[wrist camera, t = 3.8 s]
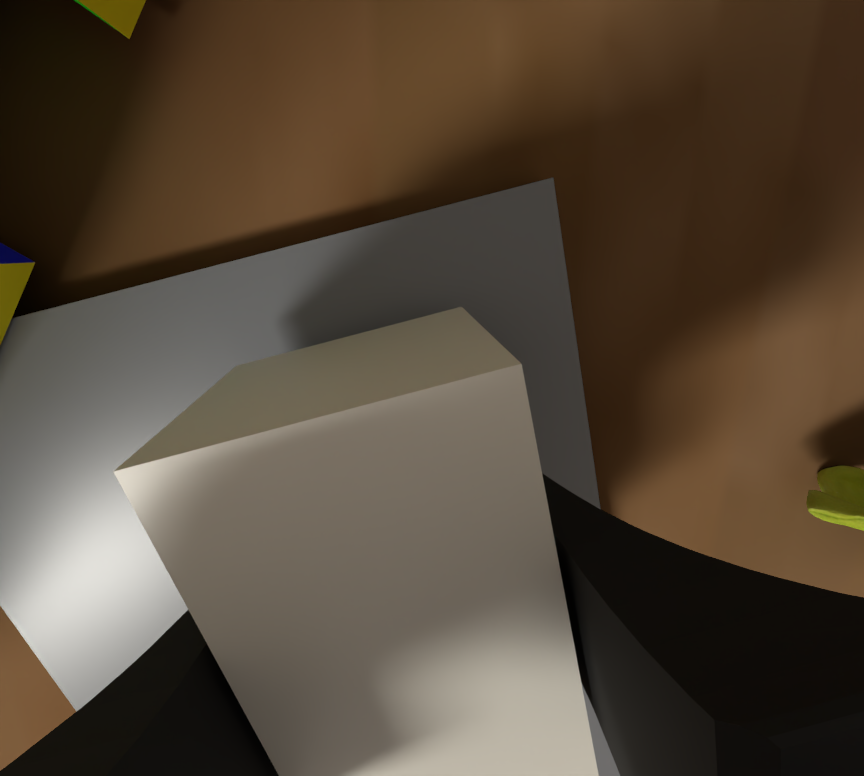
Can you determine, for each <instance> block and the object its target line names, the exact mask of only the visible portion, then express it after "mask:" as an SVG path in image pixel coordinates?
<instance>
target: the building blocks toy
mask: <svg viewBox="0 0 864 776" xmlns="http://www.w3.org/2000/svg"><path fill="white" fill-rule="evenodd" d="M74 1H75V2H77V3H78V4H80V5H81V6H82V7H84V8H85V9H87V10H88V11H90V12H91V13H93V14H94V15H95V16H97V17H98V18H100V19H101V20H103V21H104V22H105V23H107V24H108V25H110V26H111V27H113V28H114V29H116V30H117V31H118V32H120V33H121V34H123V35H124V36H126V37H127V38H128V39H130V37H131V34H132V32H133V30H134V27H135V25H136V23H137V20H138V18H139V15H140V13H141V11H142V8H143V6H144V4H145V1H146V0H74ZM34 264H35V262H34V261H32V260H30V259H29V258H27V257H25V256H23V255H22V254H20V253H18V252H16V251H14V250H13V249H11V248H9V247H7V246H6V245H4V244H2V243H0V345H1V342H2V340H3V338H4V335H5V333H6V330H7V328H8V326H9V323H10V321H11V319H12V316H13V314H14V312H15V309H16V307H17V305H18V302H19V300H20V297H21V295H22V293H23V290H24V288H25V286H26V283H27V281H28V279H29V276H30V274H31V272H32V269H33V267H34Z"/></svg>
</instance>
